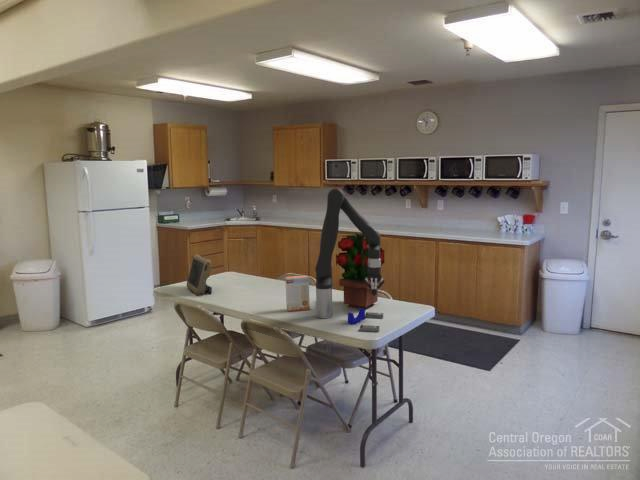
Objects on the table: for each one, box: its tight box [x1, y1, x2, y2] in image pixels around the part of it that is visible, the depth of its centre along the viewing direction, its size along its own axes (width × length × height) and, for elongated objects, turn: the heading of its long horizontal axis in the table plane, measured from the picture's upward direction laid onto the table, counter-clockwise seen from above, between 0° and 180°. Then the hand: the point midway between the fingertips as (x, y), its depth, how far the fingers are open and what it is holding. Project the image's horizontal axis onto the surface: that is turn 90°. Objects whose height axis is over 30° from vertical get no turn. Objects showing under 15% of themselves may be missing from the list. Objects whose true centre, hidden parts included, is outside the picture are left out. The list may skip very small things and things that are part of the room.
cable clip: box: [347, 308, 366, 326], centre depth 271 cm, size 12×4×6 cm, turn 138°
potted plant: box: [335, 232, 385, 310], centre depth 300 cm, size 22×22×45 cm
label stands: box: [359, 311, 384, 333], centre depth 267 cm, size 10×28×2 cm, turn 168°
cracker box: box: [284, 275, 311, 313], centre depth 295 cm, size 14×6×21 cm, turn 100°
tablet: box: [186, 253, 213, 296], centre depth 348 cm, size 33×14×25 cm, turn 34°
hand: (374, 295), depth 277 cm, fingers closed
